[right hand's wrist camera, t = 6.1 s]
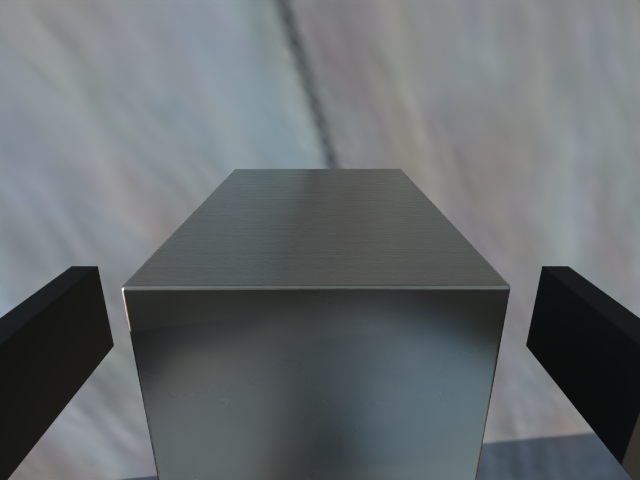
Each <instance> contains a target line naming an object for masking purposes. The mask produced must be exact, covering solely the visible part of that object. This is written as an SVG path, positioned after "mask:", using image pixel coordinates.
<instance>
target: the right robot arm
mask: <svg viewBox="0 0 640 480" xmlns="http://www.w3.org/2000/svg"><path fill="white" fill-rule="evenodd" d="M113 346H114V344H113V339H112V334H111V329H110V324H109V320H108V315H107V310H106V305H105V300H104V295H103V290H102V285H101V280H100V275H99V271H98V266H72V267H70V268H69V269H67V270H66V271H65V272H63V273H62V274H61V275H59V276H58V277H56V278H55V279H54V280H52V281H51V282H50V283H48V284H47V285H45V286H44V287H43V288H41V289H40V290H39V291H37V292H36V293H34V294H33V295H32V296H30V297H29V298H27V299H26V300H25V301H23V302H22V303H21V304H19V305H18V306H16V307H15V308H14V309H12V310H11V311H10V312H8V313H7V314H5V315H4V316H3V317H1V318H0V480H8V478H9V477H10V476H11V475H12V473H13V472H14V471H15V470H16V468H17V467H18V466H19V464H20V463H21V462H22V461H23V459H24V458H25V457H26V456H27V454H28V453H29V452H30V451H31V449H32V448H33V447H34V446H35V444H36V443H37V442H38V441H39V439H40V438H41V437H42V436H43V434H44V433H45V432H46V430H47V429H48V428H49V427H50V425H51V424H52V423H53V422H54V420H55V419H56V418H57V417H58V415H59V414H60V413H61V412H62V410H63V409H64V408H65V407H66V405H67V404H68V403H69V401H70V400H71V399H72V398H73V396H74V395H75V394H76V393H77V391H78V390H79V389H80V388H81V386H82V385H83V384H84V383H85V381H86V380H87V379H88V378H89V376H90V375H91V374H92V373H93V371H94V370H95V369H96V367H97V366H98V365H99V364H100V362H101V361H102V360H103V359H104V357H105V356H106V355H107V354H108V352H109V351H110V350H111V349H112V347H113ZM526 346H527V347H528V349H529V350H530V351H531V352H532V354H533V355H534V356H535V357H536V359H537V360H538V361H539V362H540V364H541V365H542V366H543V367H544V369H545V370H546V371H547V373H548V374H549V375H550V376H551V378H552V379H553V380H554V381H555V383H556V384H557V385H558V386H559V388H560V389H561V390H562V391H563V393H564V394H565V395H566V396H567V398H568V399H569V400H570V401H571V403H572V404H573V405H574V407H575V408H576V409H577V410H578V412H579V413H580V414H581V415H582V417H583V418H584V419H585V420H586V422H587V423H588V424H589V425H590V427H591V428H592V429H593V430H594V432H595V433H596V434H597V436H598V437H599V438H600V439H601V441H602V442H603V443H604V444H605V446H606V447H607V448H608V449H609V451H610V452H611V453H612V454H613V456H614V457H615V458H616V459H617V461H618V462H619V463H620V464H621V466H622V467H623V468H624V470H625V471H626V472H627V473H628V475H629V476H630V477H631V478H632V480H640V318H639V317H637V316H636V315H635V314H633V313H632V312H630V311H629V310H628V309H626V308H625V307H624V306H622V305H621V304H619V303H618V302H617V301H615V300H614V299H612V298H611V297H610V296H608V295H607V294H606V293H604V292H603V291H601V290H600V289H599V288H597V287H596V286H595V285H593V284H592V283H590V282H589V281H588V280H586V279H585V278H584V277H582V276H581V275H579V274H578V273H577V272H575V271H574V270H573V269H571V268H570V267H568V266H542V271H541V275H540V280H539V285H538V290H537V295H536V300H535V305H534V310H533V315H532V320H531V324H530V329H529V334H528V339H527V344H526Z"/></svg>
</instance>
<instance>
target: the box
mask: <svg viewBox="0 0 640 480" xmlns="http://www.w3.org/2000/svg"><path fill="white" fill-rule="evenodd" d="M509 292H510V286H509V284H508V283H507V282H506V281H505V280H504V279H503V278H502V277H501V276H500V275H499V274H498V272H497V271H496V270H495V269H494V268H493V267H492V266H491V265H490V264H489V263H488V262H487V261H486V260H485V259H484V258H483V256H482V255H481V254H480V253H479V252H478V251H477V250H476V249H475V248H474V247H473V246H472V245H471V244H470V243H469V241H468V240H467V239H466V238H465V237H464V236H463V235H462V234H461V233H460V232H459V231H458V230H457V229H456V228H455V227H454V225H453V224H452V223H451V222H450V221H449V220H448V219H447V218H446V217H445V216H444V215H443V214H442V213H441V212H440V211H439V209H438V208H437V207H436V206H435V205H434V204H433V203H432V202H431V201H430V200H429V199H428V198H427V197H426V196H425V195H424V193H423V192H422V191H421V190H420V189H419V188H418V187H417V186H416V185H415V184H414V183H413V182H412V181H411V180H410V178H409V177H408V176H407V175H406V174H405V173H404V172H403V171H402V170H401V169H236V170H234V171H233V172H232V173H231V174H230V175H229V176H228V177H227V178H226V179H225V180H224V182H223V183H222V184H221V185H220V186H219V187H218V188H217V189H216V190H215V191H214V192H213V193H212V194H211V195H210V196H209V197H208V198H207V199H206V200H205V201H204V202H203V203H202V204H201V205H200V206H199V207H198V208H197V210H196V211H195V212H194V213H193V214H192V215H191V216H190V217H189V218H188V219H187V220H186V221H185V222H184V223H183V224H182V225H181V226H180V227H179V228H178V229H177V230H176V231H175V232H174V233H173V234H172V235H171V236H170V237H169V239H168V240H167V241H166V242H165V243H164V244H163V245H162V246H161V247H160V248H159V249H158V250H157V251H156V252H155V253H154V254H153V255H152V256H151V257H150V258H149V259H148V260H147V261H146V262H145V263H144V264H143V265H142V267H141V268H140V269H139V270H138V271H137V272H136V273H135V274H134V275H133V276H132V277H131V278H130V279H129V280H128V281H127V282H126V283H125V284H124V285H123V287H122V293H123V299H124V304H125V309H126V314H127V319H128V325H129V330H130V335H131V340H132V345H133V351H134V356H135V361H136V366H137V371H138V376H139V382H140V387H141V392H142V397H143V402H144V408H145V413H146V418H147V423H148V428H149V434H150V439H151V444H152V449H153V454H154V460H155V465H156V470H157V475H158V480H476V476H477V470H478V464H479V459H480V453H481V448H482V442H483V437H484V431H485V426H486V420H487V415H488V409H489V403H490V398H491V392H492V387H493V381H494V376H495V370H496V365H497V359H498V353H499V348H500V342H501V337H502V331H503V326H504V320H505V315H506V309H507V304H508V298H509Z"/></svg>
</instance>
